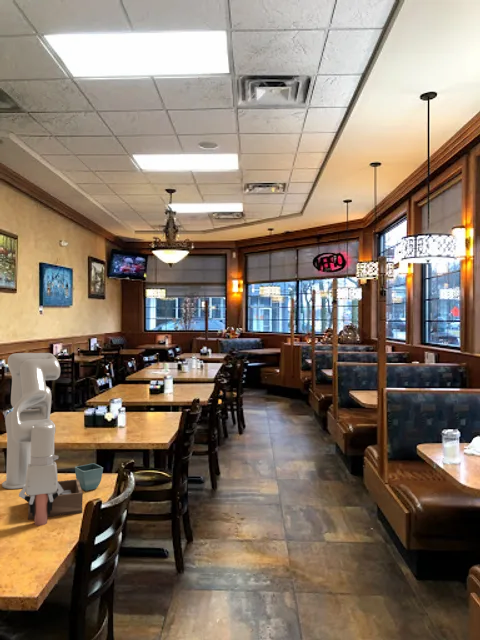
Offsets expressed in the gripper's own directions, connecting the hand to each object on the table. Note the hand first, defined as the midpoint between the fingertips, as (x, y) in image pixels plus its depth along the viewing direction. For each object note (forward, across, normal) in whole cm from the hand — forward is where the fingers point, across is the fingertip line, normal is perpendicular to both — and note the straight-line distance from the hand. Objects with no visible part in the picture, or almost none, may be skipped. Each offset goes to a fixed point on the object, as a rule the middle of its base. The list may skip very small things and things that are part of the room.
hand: (41, 513), depth 167 cm
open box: (+3, -5, -14) cm, 15 cm away
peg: (+3, 0, 0) cm, 3 cm away
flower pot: (+4, -19, -32) cm, 37 cm away
